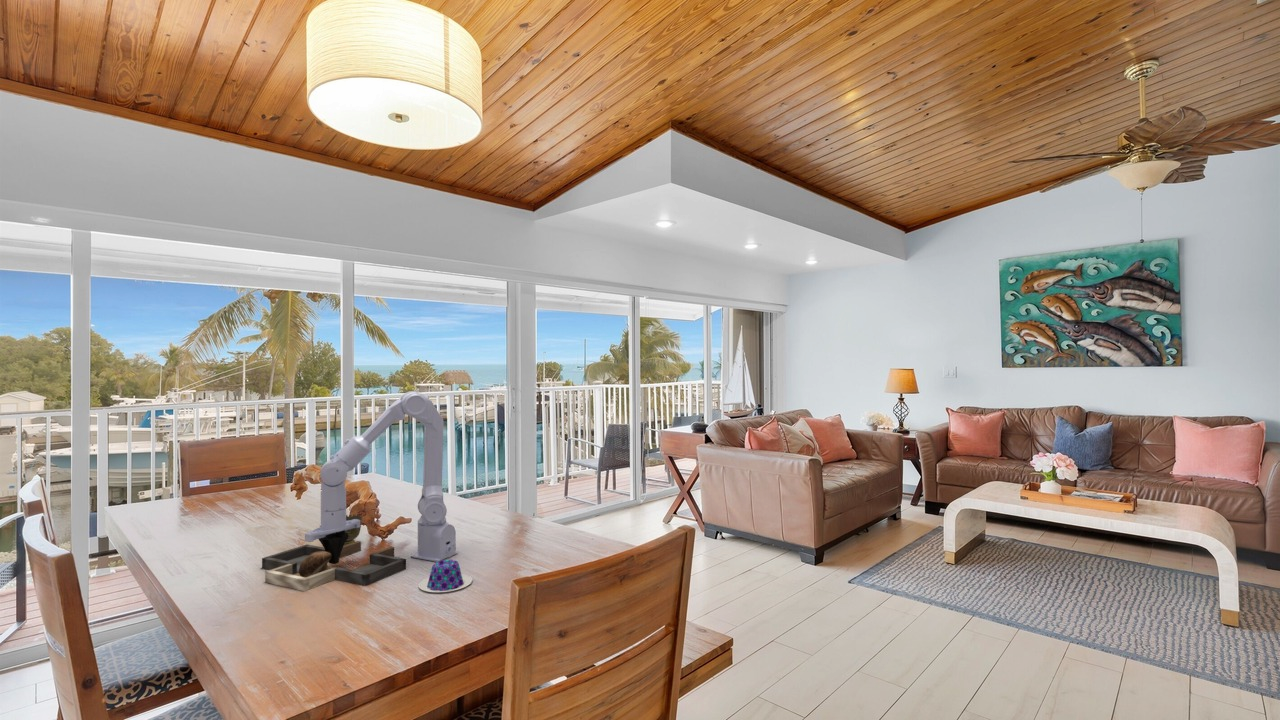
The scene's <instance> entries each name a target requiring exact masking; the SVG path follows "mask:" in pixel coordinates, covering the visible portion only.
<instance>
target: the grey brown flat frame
mask: <svg viewBox="0 0 1280 720" xmlns="http://www.w3.org/2000/svg"><path fill="white" fill-rule="evenodd" d="M317 551H325V549H324V547H323V546H319V545H318V546H316V545H313V544H304V545H301V546H298V547H295V548H291V549H288V550H285V551H284V550H283V551H281V552H278V553H274V554H272V555H268V556H264V557H262V558H261V569H265V570H266V571H264V575H265V578H264V582H265V583H267V584H271V585H276V586H280V587H284V588H288V589H289V588H290V589H292V590H293V589H294V590H297V591H301V592H302V591H303V592H306V591H308V590H312V589H314V588H316V587H319V586H321V585H324V584H327V583H329V582H332V581H336V580H337V581H341V582H347V583H350V584H354V585H359V586H365V587H366V586H368V585H371V584H373V583H376V582H378V581H380V580H383V579H385V578H388V577H390V576H393V575H395V574H398V573H400V572H402V571H404V570H405V571H406V570H407V558H403V557H399V556H398V557H397V556H395V547H394V546H389V547H387V548H384V549H381V550H377V551H375V552H372V553H370V554H369V563H367V564H365V565H362V566H359V567H356V568H354V569H349V568H346V567H345V568H344V567H340V566H334V567H331V569H328V570H325V571H322V572H320V573H317V574H313V575H310V576H309V577H306V578H305V577H301V576H300V575H296V574H298V573H299V567H300V565H301V563H302V561H303V560H304V559H305V558H307V557H308V556H309V555H311V554H312V553H314V552H317ZM361 551H362V541H358V540H357V541H355V542H353V543H350V544H347V545H344V546H343V548H342V551H341V555H340V558H339V559H341V558H344V557H348V556H350V555H353V554H356V553H359V552H361ZM327 563H329V561H328V562H327Z"/></svg>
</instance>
